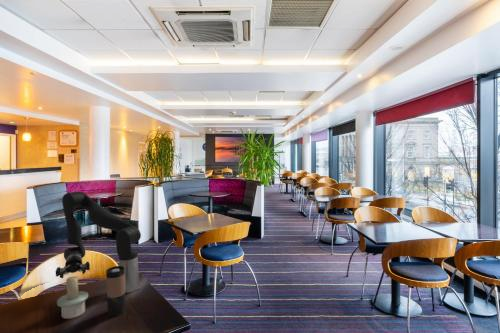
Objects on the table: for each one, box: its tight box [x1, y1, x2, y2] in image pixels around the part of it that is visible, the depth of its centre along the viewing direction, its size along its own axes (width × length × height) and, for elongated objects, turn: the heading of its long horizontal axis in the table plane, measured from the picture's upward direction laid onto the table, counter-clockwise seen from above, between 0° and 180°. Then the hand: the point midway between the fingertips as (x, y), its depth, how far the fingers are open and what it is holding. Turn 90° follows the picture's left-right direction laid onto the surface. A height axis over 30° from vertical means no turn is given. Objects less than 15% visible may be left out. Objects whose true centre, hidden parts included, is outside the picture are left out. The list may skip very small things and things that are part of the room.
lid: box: [56, 275, 89, 308], centre depth 125 cm, size 12×12×10 cm
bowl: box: [60, 300, 86, 320], centre depth 125 cm, size 9×9×6 cm
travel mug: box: [105, 265, 126, 317], centre depth 125 cm, size 8×8×20 cm
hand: (72, 274), depth 131 cm, fingers open, 8 cm apart
